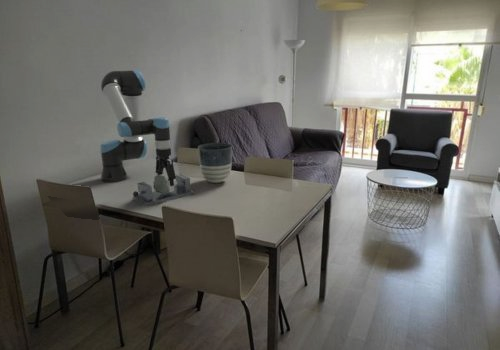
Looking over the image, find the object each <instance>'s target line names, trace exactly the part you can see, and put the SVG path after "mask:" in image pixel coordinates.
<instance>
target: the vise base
mask: <svg viewBox="0 0 500 350" xmlns="http://www.w3.org/2000/svg"><path fill="white" fill-rule="evenodd" d="M175 176H176V179H175V180H176V181H177V183H178V184H177V186H176V187H175V188H174V191H173V192H167V193H160V192H156V190H154V191H152V196H153V200H150V201H146V200H144V199H143V198H141V197H139V195H138V196H136V197H135V196H132V200H133V201H135V202H136V203H138V204H140V205H141V206H143V207H148V206H152V205H156V204H160V203H164V202H167V201H168V202H169V201H172V200H176V199H179V198H184V197H188V196H191V195H194V193H195V192H194V190H192V189H191V179H190V177H188V176H185V175H183V174H181V173H180V174H177V173H175Z"/></svg>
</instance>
